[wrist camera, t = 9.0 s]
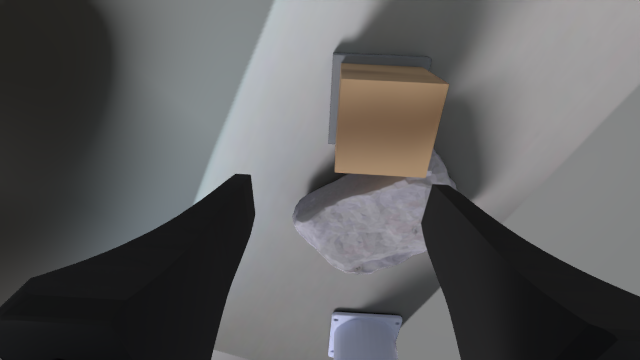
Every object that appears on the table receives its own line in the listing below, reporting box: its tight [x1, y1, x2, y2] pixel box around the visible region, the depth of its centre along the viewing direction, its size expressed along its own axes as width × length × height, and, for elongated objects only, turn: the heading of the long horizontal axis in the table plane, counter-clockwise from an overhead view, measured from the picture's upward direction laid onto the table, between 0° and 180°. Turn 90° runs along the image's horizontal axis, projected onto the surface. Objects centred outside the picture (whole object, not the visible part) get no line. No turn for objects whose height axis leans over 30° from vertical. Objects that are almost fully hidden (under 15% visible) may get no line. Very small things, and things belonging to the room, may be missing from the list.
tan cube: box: [335, 63, 449, 178], centre depth 17 cm, size 5×5×5 cm
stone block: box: [292, 148, 457, 274], centre depth 23 cm, size 12×5×10 cm
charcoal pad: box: [328, 53, 432, 144], centre depth 20 cm, size 6×6×1 cm
